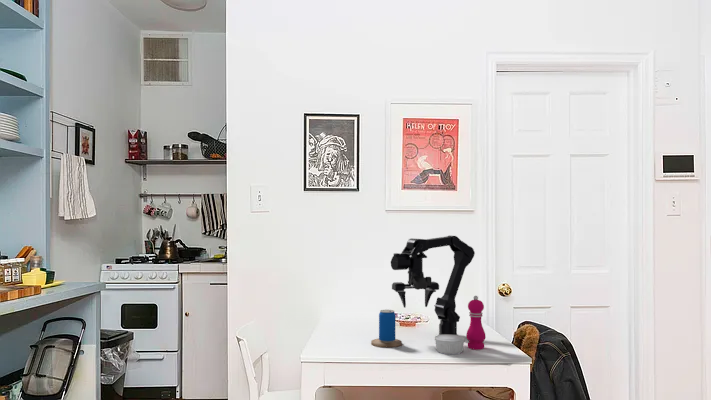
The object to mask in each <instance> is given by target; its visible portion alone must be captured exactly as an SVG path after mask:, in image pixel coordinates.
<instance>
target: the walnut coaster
mask: <svg viewBox="0 0 711 400" xmlns="http://www.w3.org/2000/svg"><path fill="white" fill-rule="evenodd" d="M370 342H371V343H370V344H371V346H374V347H376V348H398V347H401V346H403V345H402V344H403V342H402V340H401V339H397V338H395V340H394V342H391V343H384V342H381V341H380V340H379V338H374V339H372V340H371V341H370Z"/></svg>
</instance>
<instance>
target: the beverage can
mask: <svg viewBox="0 0 711 400" xmlns="http://www.w3.org/2000/svg"><path fill="white" fill-rule="evenodd" d="M378 339H379V340H380V341H381V342H384V343H391V342H394V340H395V339H396V313H395V310H393V309H381V310H379V313H378Z"/></svg>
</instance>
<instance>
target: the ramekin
mask: <svg viewBox="0 0 711 400" xmlns="http://www.w3.org/2000/svg"><path fill="white" fill-rule="evenodd" d="M465 339H466V338H465V337H464V336H462V335H459V334H457V335H450V334H443V335H440V334H438V335H437V334H436V335H435V336H434V341H435V342H434V343H435V347H436V351H437V352H438V353H441V354H444V355H459V354H461V353H462V352H463V351H464V343H465Z"/></svg>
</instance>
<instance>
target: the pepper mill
mask: <svg viewBox="0 0 711 400" xmlns="http://www.w3.org/2000/svg"><path fill="white" fill-rule="evenodd" d="M467 308H468V310H469V317H470V323H469V327H468V329H467V330H466V338H465V339H467V340H468V342H467V348H468V349H469V350H476V351H478V350H479V351H480V350H485V343H484V341H485V340H486V332H485V329H484V327H483V324H482V317H483V310H484V309H485V306H484V303H483V301H481V300H480V299H479V296H478V295H474V296H473V299H472V300H470V301H469V302H468V304H467Z"/></svg>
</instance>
